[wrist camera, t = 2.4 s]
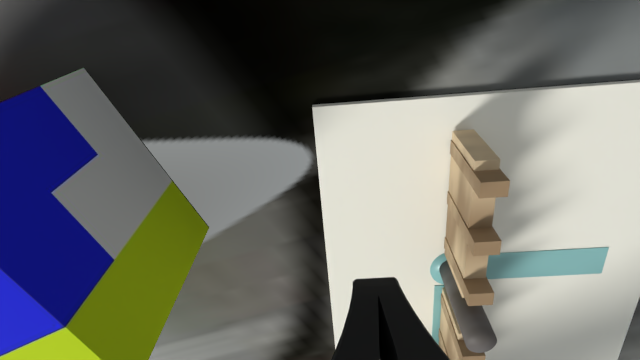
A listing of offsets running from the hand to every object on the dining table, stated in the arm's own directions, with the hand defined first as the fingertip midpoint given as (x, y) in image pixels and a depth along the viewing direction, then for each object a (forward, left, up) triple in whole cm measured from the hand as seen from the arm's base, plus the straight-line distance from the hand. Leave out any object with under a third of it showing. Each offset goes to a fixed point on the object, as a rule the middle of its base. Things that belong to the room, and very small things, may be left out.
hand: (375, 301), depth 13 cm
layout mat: (-6, -7, -9) cm, 13 cm away
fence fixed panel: (-10, -5, -9) cm, 14 cm away
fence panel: (-1, -5, -8) cm, 10 cm away
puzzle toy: (0, +15, -9) cm, 18 cm away
